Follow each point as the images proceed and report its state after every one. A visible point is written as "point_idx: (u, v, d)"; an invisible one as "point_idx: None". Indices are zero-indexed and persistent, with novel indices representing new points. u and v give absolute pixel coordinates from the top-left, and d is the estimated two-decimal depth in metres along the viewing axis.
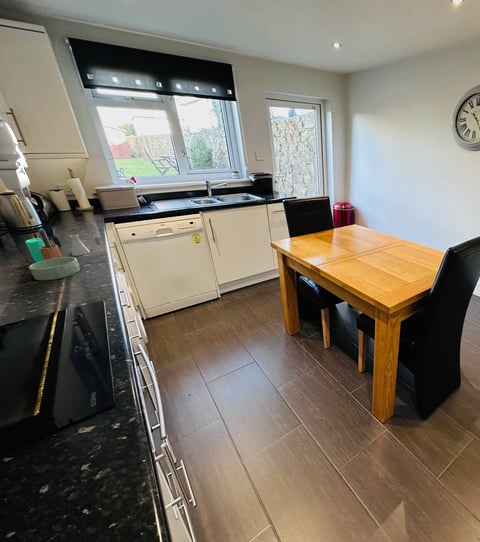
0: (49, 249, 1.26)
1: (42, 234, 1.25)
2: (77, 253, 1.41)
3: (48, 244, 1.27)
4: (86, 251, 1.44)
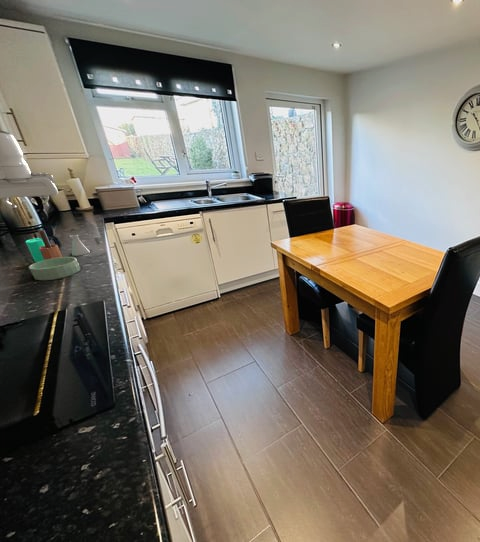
0: (49, 249, 1.26)
1: (42, 234, 1.25)
2: (77, 253, 1.41)
3: (48, 244, 1.27)
4: (86, 251, 1.44)
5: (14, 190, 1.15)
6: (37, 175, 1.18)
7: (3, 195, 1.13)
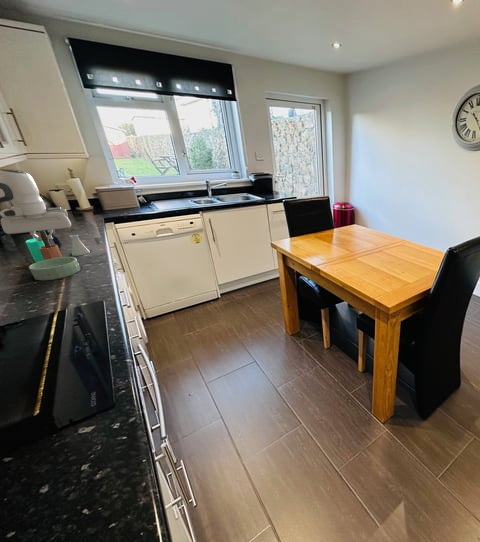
0: (49, 249, 1.26)
1: (42, 234, 1.25)
2: (77, 253, 1.41)
3: (48, 244, 1.27)
4: (86, 251, 1.44)
5: (30, 225, 1.21)
6: (52, 210, 1.24)
7: (20, 230, 1.19)
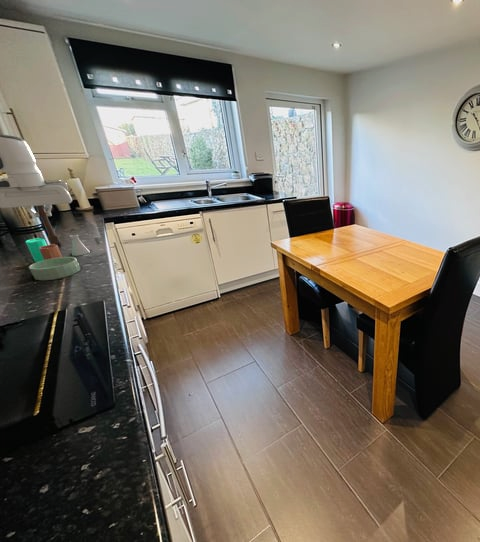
0: (49, 249, 1.26)
1: (40, 209, 1.12)
2: (77, 253, 1.41)
3: (47, 221, 1.15)
4: (86, 251, 1.44)
5: (27, 199, 1.09)
6: (50, 183, 1.12)
7: (15, 204, 1.07)
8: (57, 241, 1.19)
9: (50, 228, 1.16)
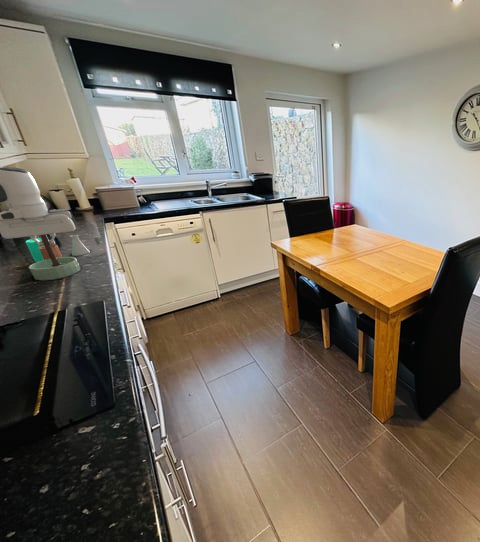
0: None
1: (44, 238, 1.14)
2: (77, 253, 1.41)
3: (50, 249, 1.16)
4: (86, 251, 1.44)
5: (31, 229, 1.10)
6: (54, 212, 1.13)
7: (19, 234, 1.08)
8: None
9: (53, 256, 1.17)
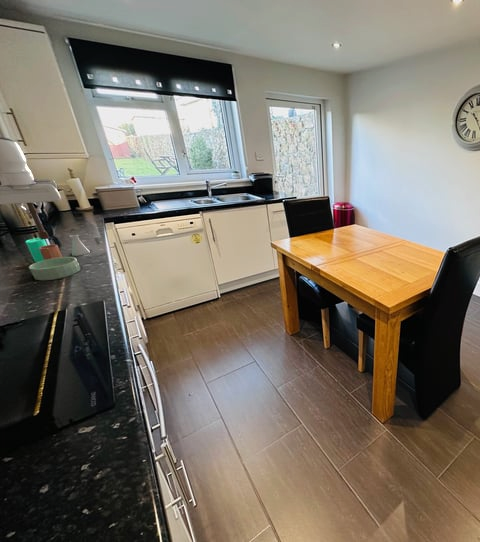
0: (49, 249, 1.26)
1: (30, 206, 1.19)
2: (77, 253, 1.41)
3: (37, 218, 1.21)
4: (86, 251, 1.44)
5: (17, 196, 1.15)
6: (40, 181, 1.19)
7: (6, 201, 1.14)
8: (46, 237, 1.25)
9: (40, 224, 1.23)
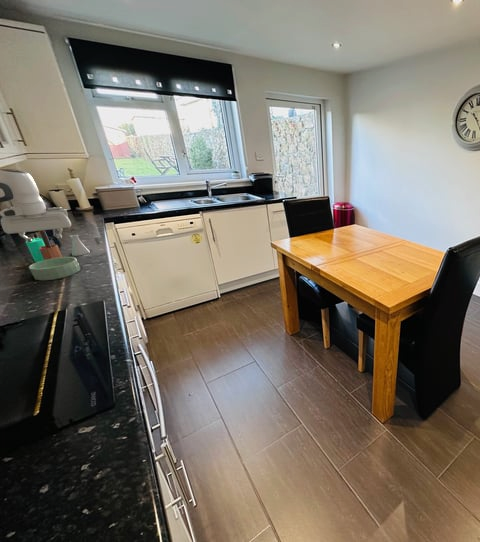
0: (49, 249, 1.26)
1: (43, 234, 1.25)
2: (77, 253, 1.41)
3: (48, 244, 1.27)
4: (86, 251, 1.44)
5: (30, 225, 1.21)
6: (52, 210, 1.24)
7: (20, 230, 1.19)
8: None
9: None
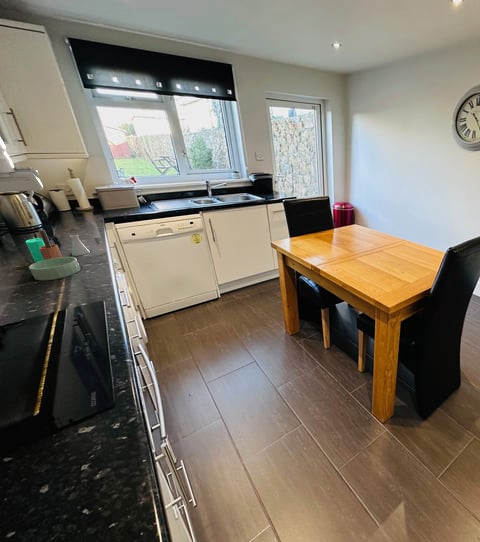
0: (49, 249, 1.26)
1: (43, 234, 1.25)
2: (77, 253, 1.41)
3: (48, 244, 1.27)
4: (86, 251, 1.44)
5: None
6: (21, 169, 1.15)
7: None
8: None
9: None
